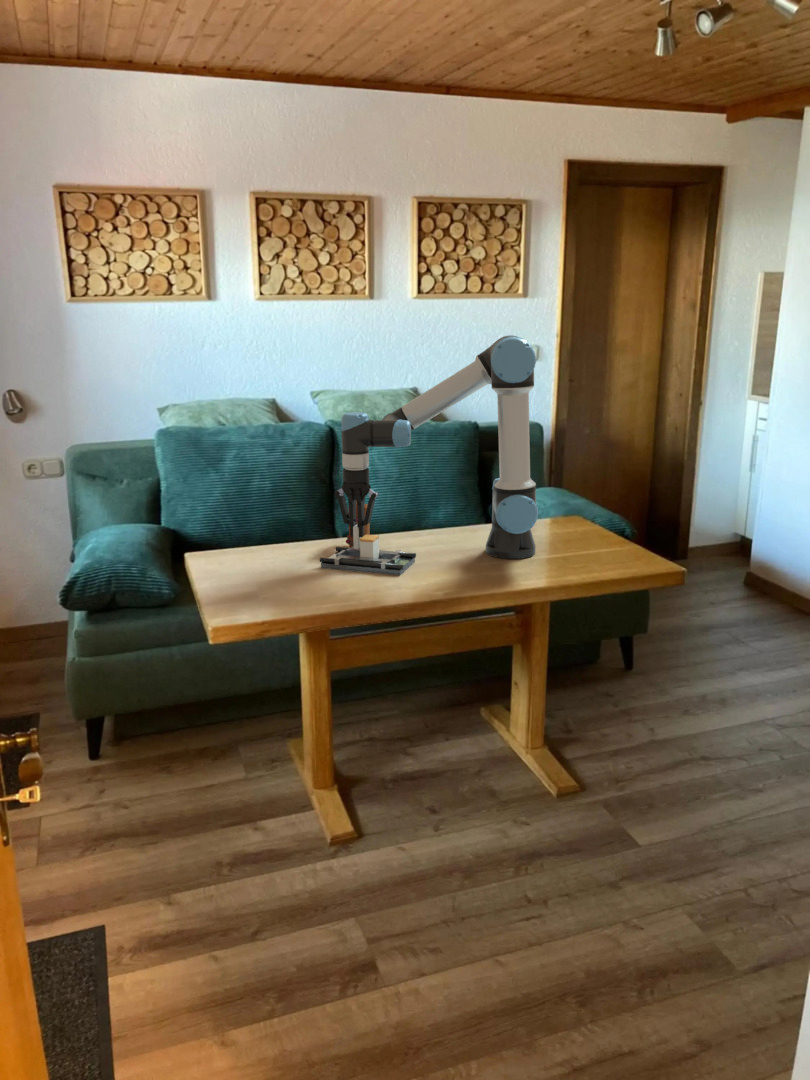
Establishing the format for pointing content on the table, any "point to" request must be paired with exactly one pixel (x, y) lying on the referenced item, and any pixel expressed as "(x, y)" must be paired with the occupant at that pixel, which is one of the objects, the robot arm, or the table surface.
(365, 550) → the orange grey block
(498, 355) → the robot arm
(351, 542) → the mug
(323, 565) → the panel
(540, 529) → the table surface
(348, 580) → the table surface
